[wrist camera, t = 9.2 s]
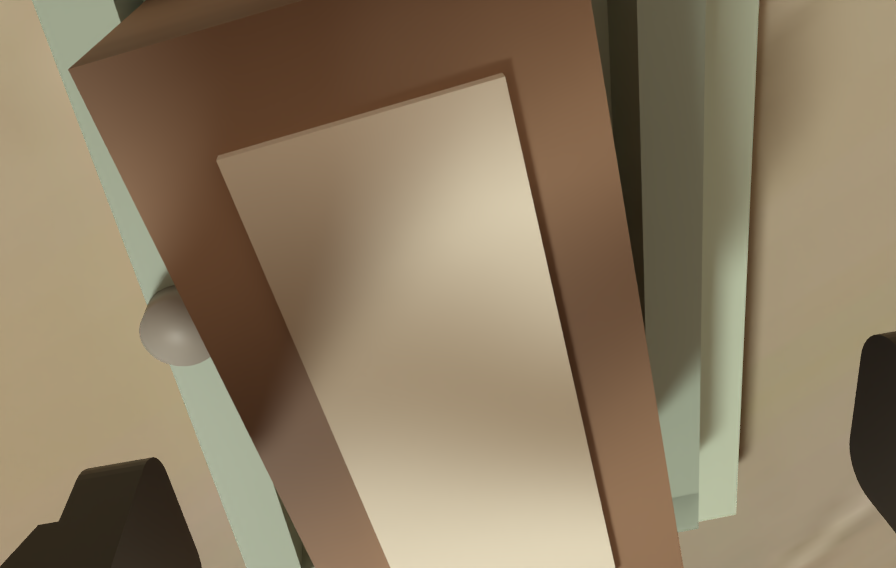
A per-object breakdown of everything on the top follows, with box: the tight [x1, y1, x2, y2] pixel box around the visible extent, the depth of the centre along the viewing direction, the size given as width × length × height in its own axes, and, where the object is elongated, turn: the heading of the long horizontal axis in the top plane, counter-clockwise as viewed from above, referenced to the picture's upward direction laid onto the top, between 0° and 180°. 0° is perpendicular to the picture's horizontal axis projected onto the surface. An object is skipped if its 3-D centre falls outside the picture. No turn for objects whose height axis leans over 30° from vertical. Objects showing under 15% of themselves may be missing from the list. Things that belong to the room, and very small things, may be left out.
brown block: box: [68, 0, 683, 568], centre depth 12 cm, size 10×5×5 cm, turn 15°
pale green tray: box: [32, 0, 759, 568], centre depth 14 cm, size 17×11×3 cm, turn 8°
